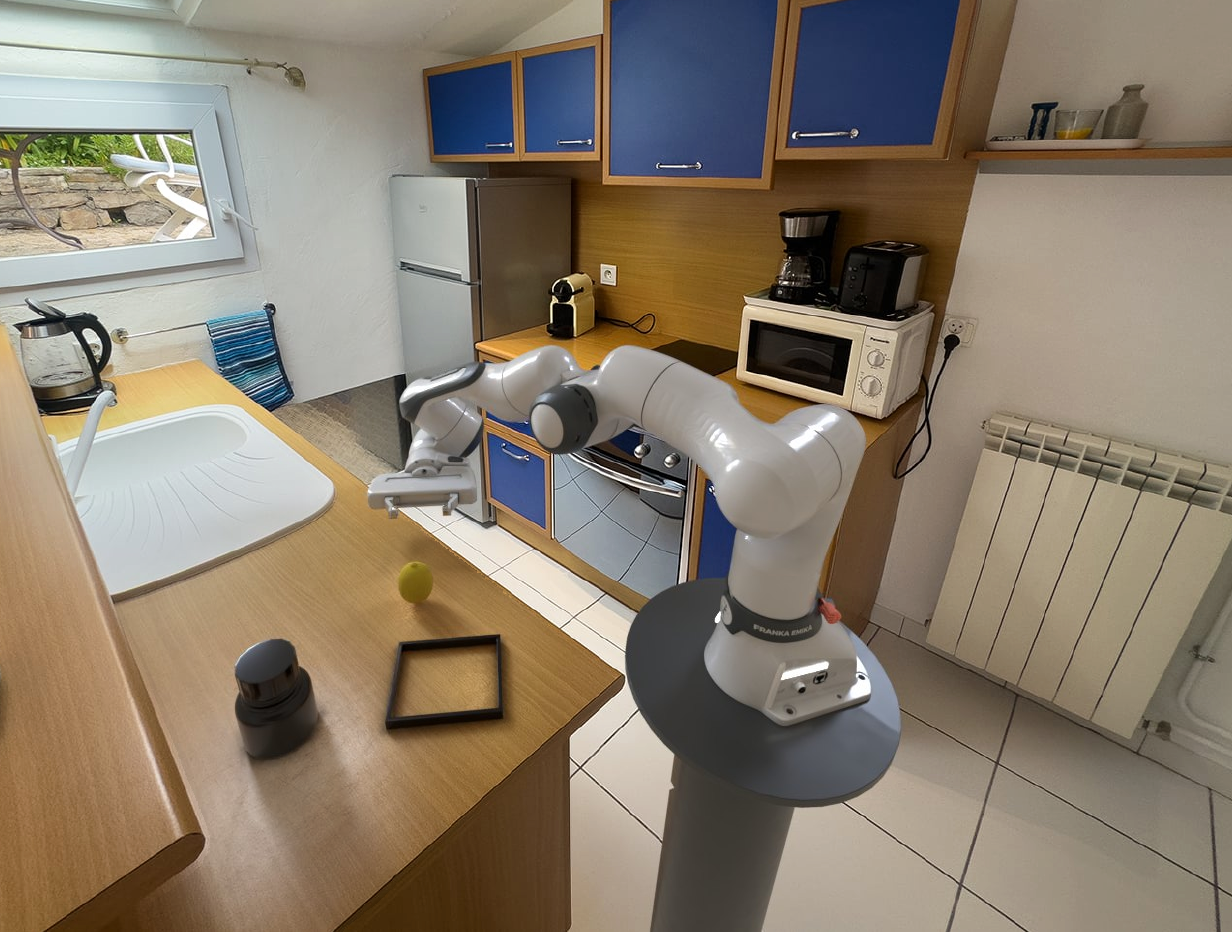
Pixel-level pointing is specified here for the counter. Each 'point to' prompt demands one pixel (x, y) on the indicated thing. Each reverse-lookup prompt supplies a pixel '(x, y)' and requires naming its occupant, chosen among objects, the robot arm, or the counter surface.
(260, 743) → the ink bottle
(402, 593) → the lemon
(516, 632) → the counter surface
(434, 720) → the black square frame
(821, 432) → the robot arm
